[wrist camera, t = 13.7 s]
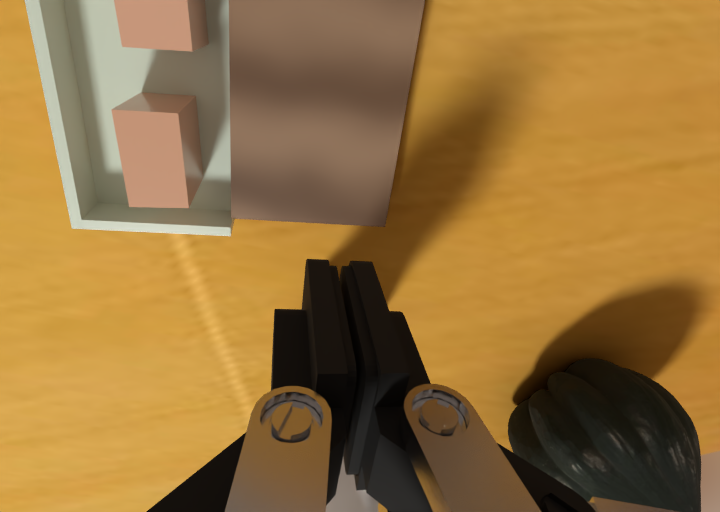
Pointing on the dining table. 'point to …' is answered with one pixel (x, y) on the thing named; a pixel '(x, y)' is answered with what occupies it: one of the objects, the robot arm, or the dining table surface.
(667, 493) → the squash
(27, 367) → the dining table surface
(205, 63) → the tray
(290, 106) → the board
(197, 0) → the tile
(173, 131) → the tile
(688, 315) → the dining table surface
